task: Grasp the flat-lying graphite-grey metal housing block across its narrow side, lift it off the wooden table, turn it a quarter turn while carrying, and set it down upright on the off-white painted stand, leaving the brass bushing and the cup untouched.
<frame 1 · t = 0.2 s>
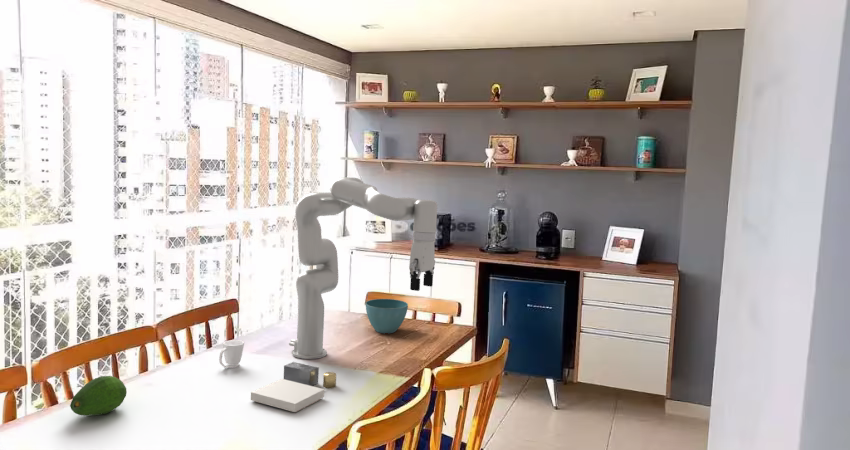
hand: (421, 288, 206), 31 cm above the table, fingers open, 9 cm apart
housing: (300, 383, 198), on the table
fruit: (98, 415, 166), on the table
teal bowl: (385, 331, 267), on the table
cup: (230, 367, 210), on the table
bushing: (329, 386, 197), on the table
stand: (287, 400, 183), on the table
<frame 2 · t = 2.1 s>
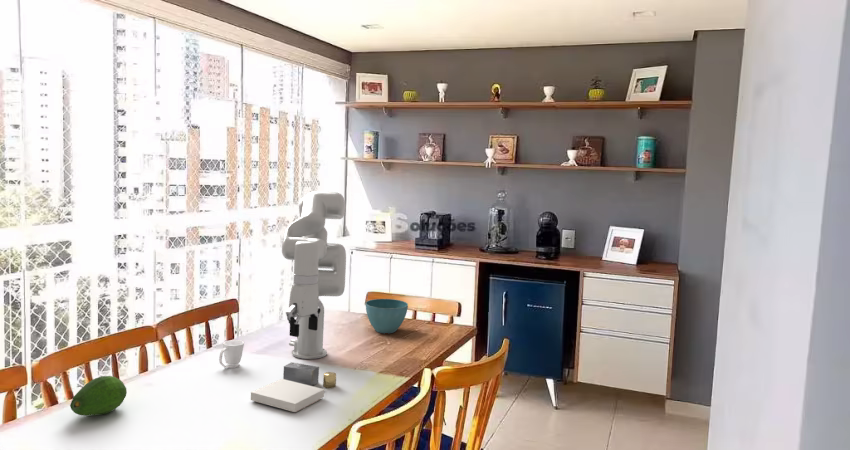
hand: (303, 332, 197), 16 cm above the table, fingers open, 9 cm apart
nothing on the table moved.
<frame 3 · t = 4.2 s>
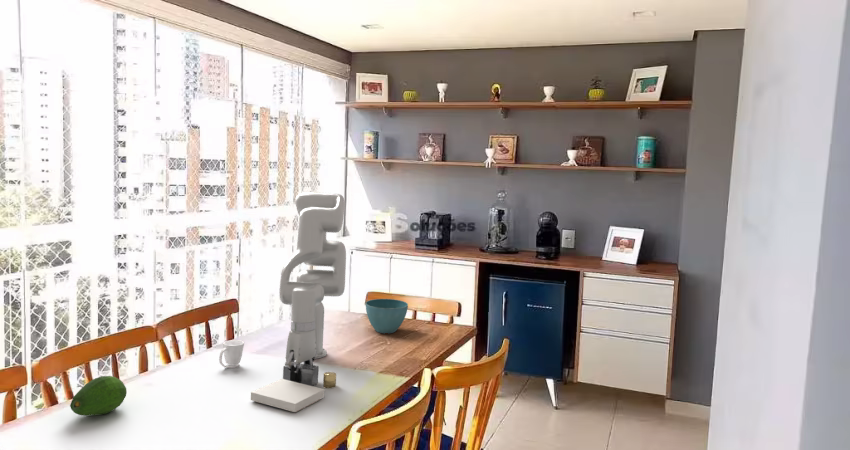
hand: (300, 380, 198), 1 cm above the table, fingers closed on housing, 5 cm apart
housing: (300, 383, 198), on the table, touching gripper
everything else where it was.
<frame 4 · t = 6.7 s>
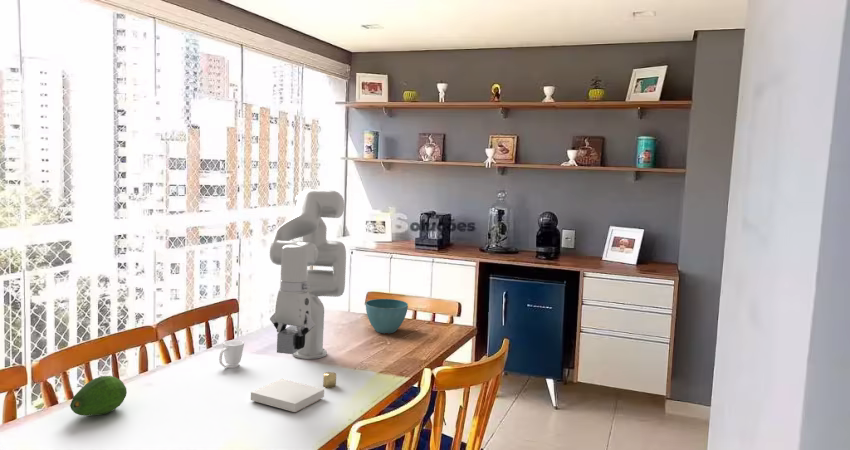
hand: (291, 346, 183), 16 cm above the table, fingers closed on housing, 5 cm apart
housing: (291, 348, 183), point 15 cm above the table, touching gripper
everything else where it was.
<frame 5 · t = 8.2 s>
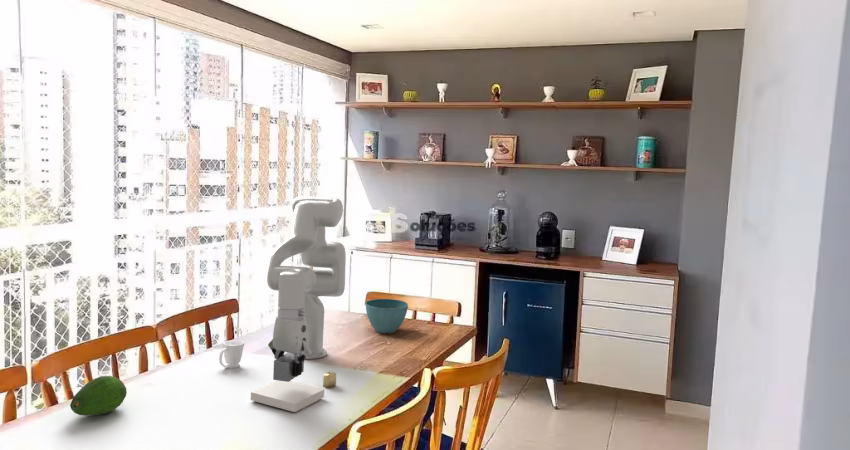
hand: (288, 372, 182), 8 cm above the table, fingers closed on housing, 5 cm apart
housing: (288, 375, 182), point 8 cm above the table, touching gripper
everything else where it was.
when the fingers open (5 cm above the table, at t = 9.3 s): housing stays where it is, resting on stand.
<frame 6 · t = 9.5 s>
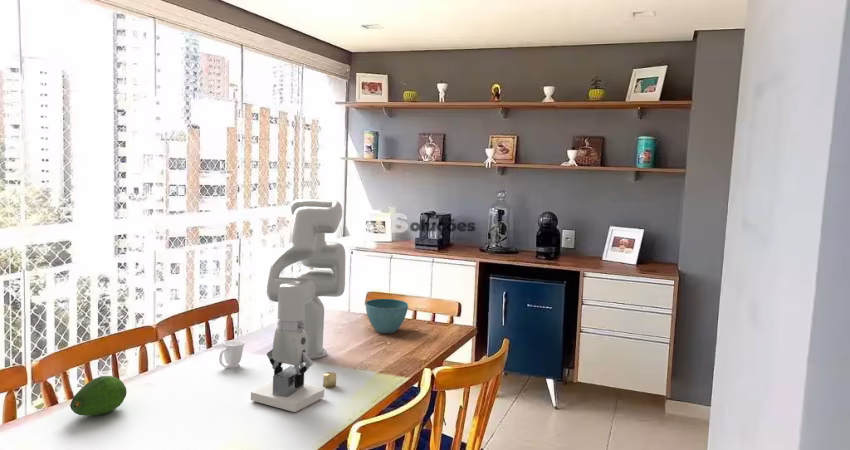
hand: (288, 383, 183), 5 cm above the table, fingers open, 7 cm apart
housing: (288, 390, 183), point 3 cm above the table, touching stand
everything else where it was.
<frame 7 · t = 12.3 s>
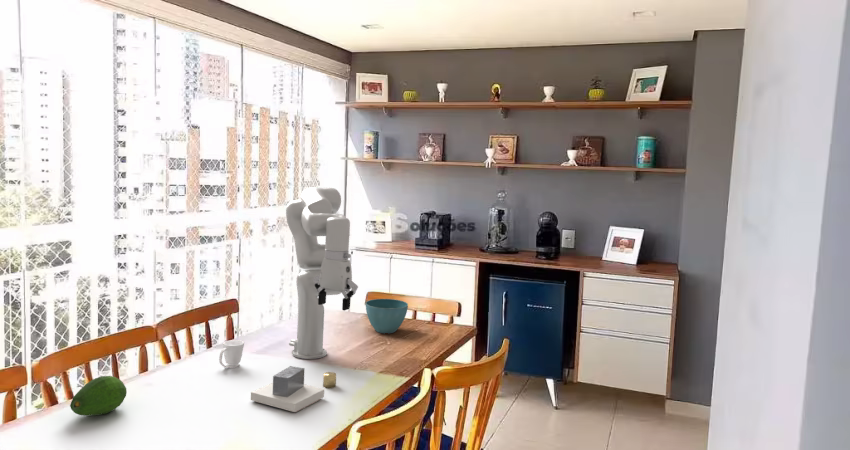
hand: (333, 306, 202), 24 cm above the table, fingers open, 9 cm apart
nothing on the table moved.
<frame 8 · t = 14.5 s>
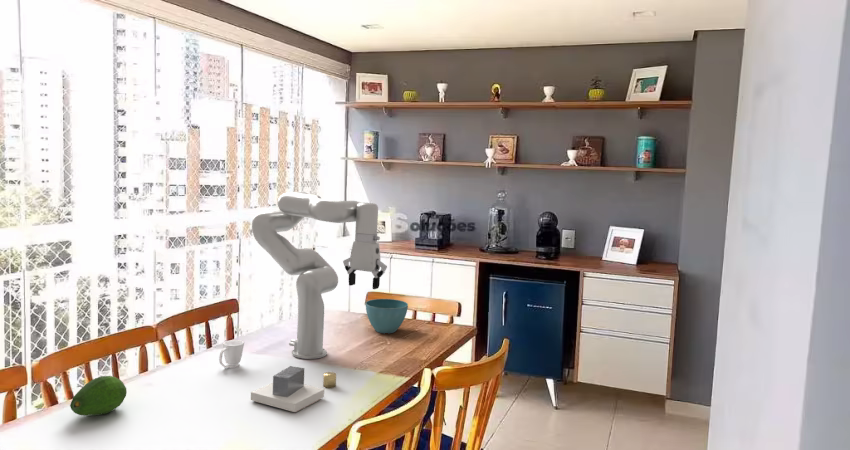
hand: (363, 286, 216), 28 cm above the table, fingers open, 9 cm apart
nothing on the table moved.
at the end: housing inside the target area on the stand (0.2 cm from its centre), point 3.0 cm above the stand's base; housing tilted 0°; the gripper is holding nothing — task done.
